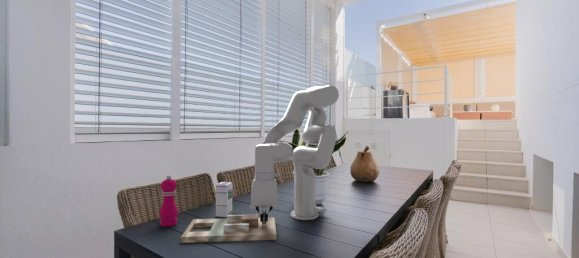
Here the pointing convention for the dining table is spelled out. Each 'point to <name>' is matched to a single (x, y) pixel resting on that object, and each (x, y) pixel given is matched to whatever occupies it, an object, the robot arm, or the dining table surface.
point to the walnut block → (250, 220)
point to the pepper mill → (168, 203)
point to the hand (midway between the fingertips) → (263, 223)
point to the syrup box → (224, 199)
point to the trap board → (228, 230)
